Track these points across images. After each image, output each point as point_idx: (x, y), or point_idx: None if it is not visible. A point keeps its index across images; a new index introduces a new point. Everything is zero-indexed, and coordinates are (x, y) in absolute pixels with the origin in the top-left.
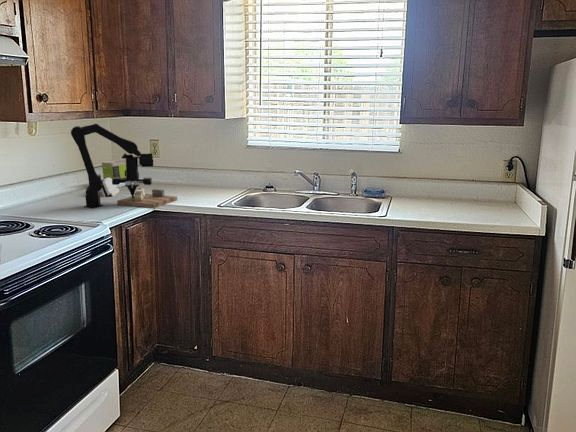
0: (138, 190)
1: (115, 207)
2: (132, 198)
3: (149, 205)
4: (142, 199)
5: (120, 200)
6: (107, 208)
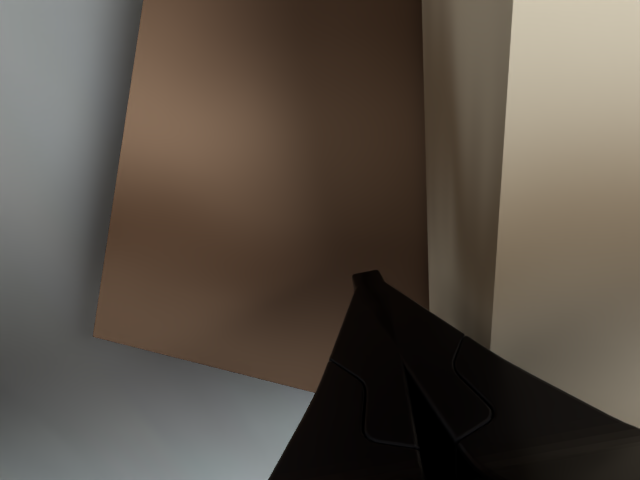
0: (566, 36)
1: (191, 427)
2: (308, 134)
3: None
4: None
5: (145, 322)
6: (125, 465)
